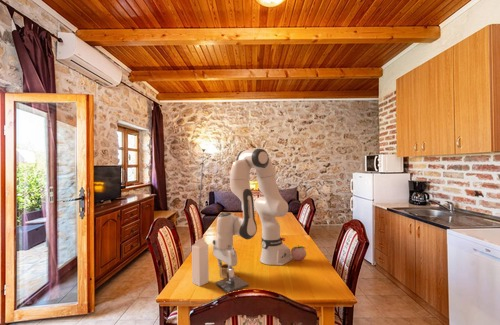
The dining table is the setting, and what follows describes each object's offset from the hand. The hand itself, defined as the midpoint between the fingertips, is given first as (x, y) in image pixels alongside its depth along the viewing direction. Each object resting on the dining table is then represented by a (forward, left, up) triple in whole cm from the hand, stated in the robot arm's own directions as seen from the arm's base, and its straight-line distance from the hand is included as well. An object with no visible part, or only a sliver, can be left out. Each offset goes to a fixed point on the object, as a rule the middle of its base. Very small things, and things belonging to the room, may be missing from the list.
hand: (224, 269), depth 136 cm
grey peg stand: (+2, +11, -4) cm, 12 cm away
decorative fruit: (-46, +10, -4) cm, 47 cm away
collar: (-1, 0, -4) cm, 4 cm away
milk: (+14, -1, -4) cm, 14 cm away
